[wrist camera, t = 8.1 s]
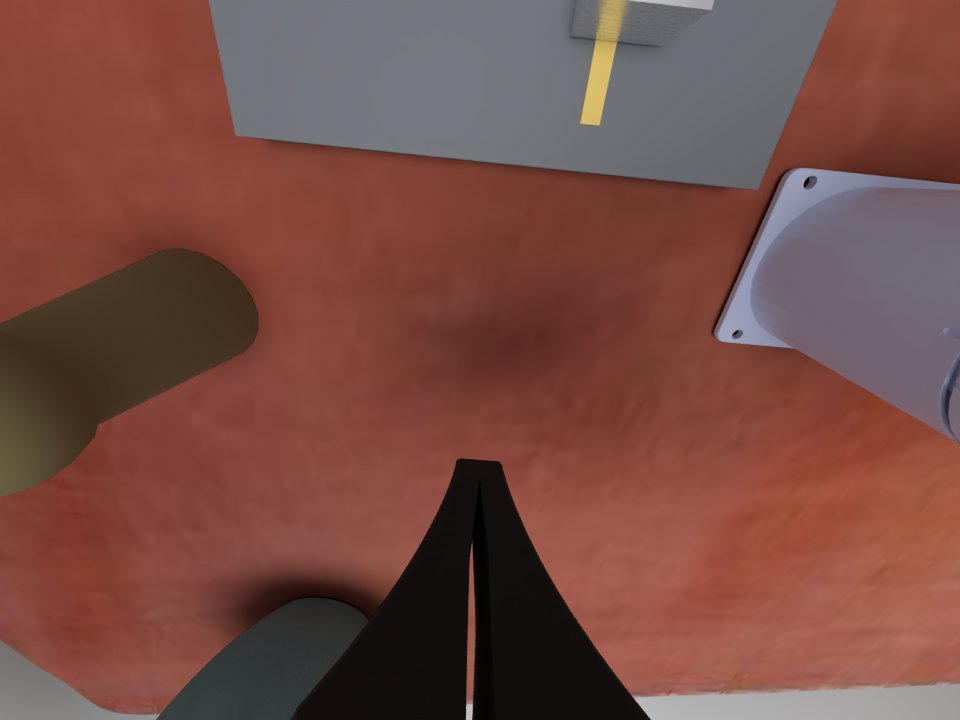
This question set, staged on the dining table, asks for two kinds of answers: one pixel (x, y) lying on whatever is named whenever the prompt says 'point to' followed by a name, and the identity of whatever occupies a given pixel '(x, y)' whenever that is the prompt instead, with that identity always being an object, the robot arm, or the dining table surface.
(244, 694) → the teal bowl
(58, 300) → the cork
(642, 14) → the fader
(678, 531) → the dining table surface
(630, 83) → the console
